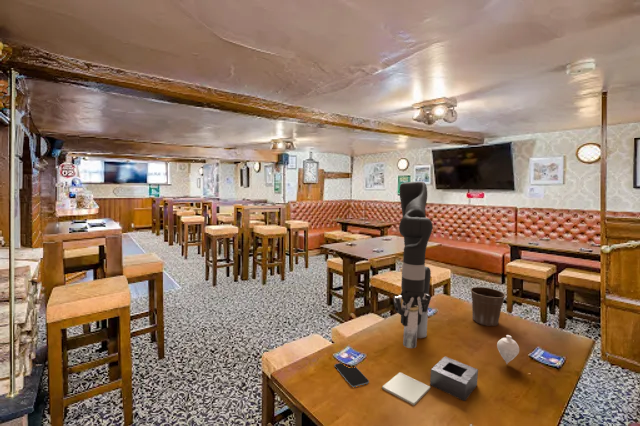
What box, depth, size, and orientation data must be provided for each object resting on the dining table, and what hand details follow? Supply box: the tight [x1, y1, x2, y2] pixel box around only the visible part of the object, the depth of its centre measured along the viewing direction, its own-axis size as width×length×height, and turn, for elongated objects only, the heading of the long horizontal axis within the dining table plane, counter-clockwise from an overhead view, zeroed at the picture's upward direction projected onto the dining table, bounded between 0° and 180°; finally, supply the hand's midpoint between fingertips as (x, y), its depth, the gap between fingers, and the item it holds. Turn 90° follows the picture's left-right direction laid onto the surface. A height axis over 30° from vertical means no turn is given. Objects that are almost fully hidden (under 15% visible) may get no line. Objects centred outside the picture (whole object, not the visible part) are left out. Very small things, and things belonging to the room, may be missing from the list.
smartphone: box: [334, 362, 370, 388], centre depth 119 cm, size 7×1×15 cm
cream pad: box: [382, 372, 431, 406], centre depth 111 cm, size 12×12×1 cm
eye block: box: [429, 356, 479, 402], centre depth 113 cm, size 12×12×6 cm
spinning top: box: [496, 334, 520, 365], centre depth 127 cm, size 8×8×12 cm
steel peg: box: [402, 305, 419, 349], centre depth 109 cm, size 5×5×14 cm
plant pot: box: [470, 286, 506, 327], centre depth 167 cm, size 16×16×16 cm
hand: (410, 324), depth 109 cm, fingers closed on steel peg, 4 cm apart
